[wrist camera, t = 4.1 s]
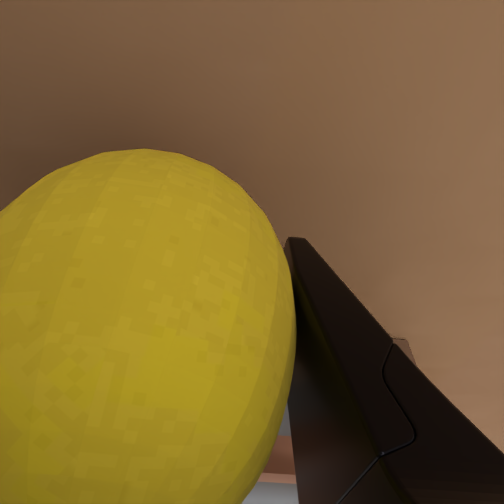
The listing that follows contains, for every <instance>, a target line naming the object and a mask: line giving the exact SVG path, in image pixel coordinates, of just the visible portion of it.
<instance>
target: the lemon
mask: <svg viewBox="0 0 504 504" xmlns="http://www.w3.org/2000/svg"><path fill="white" fill-rule="evenodd" d="M295 352H296V314H295V306H294V297H293V289H292V282H291V274H290V270H289V266H288V262H287V259H286V256H285V254H284V251H283V249H282V247H281V244H280V242H279V240H278V238H277V236H276V234H275V232H274V230H273V228H272V226H271V224H270V222H269V220H268V218H267V217H266V215H265V213H264V212H263V211H262V210H261V209H260V207H259V206H258V205H257V204H256V203H255V202H254V201H253V200H252V199H251V197H250V196H249V195H248V194H247V193H246V192H245V191H244V190H243V189H242V188H241V186H240V185H239V184H237V183H236V182H234V181H233V180H231V179H230V178H229V177H227V176H226V175H224V174H223V173H221V172H220V171H218V170H217V169H215V168H214V167H212V166H210V165H208V164H205V163H203V162H200V161H197V160H195V159H192V158H190V157H187V156H185V155H182V154H179V153H173V152H166V151H159V150H152V149H146V148H145V149H134V150H122V151H111V152H103V153H100V154H97V155H94V156H92V157H89V158H86V159H84V160H81V161H78V162H75V163H73V164H70V165H67V166H65V167H62V168H60V169H57V170H55V171H53V172H52V173H50V174H48V175H46V176H45V177H43V178H42V179H40V180H39V181H38V182H36V183H35V184H34V185H32V186H31V187H30V188H28V189H27V190H26V191H25V192H24V193H22V194H21V195H20V196H19V197H18V198H16V199H15V200H14V201H13V202H11V203H10V204H9V205H8V206H7V207H5V208H4V209H3V210H2V211H1V212H0V504H241V503H242V502H243V501H244V499H245V498H246V497H247V495H248V494H249V493H250V492H251V490H252V489H253V488H254V486H255V484H256V483H257V481H258V479H259V477H260V475H261V473H262V472H263V470H264V468H265V466H266V464H267V463H268V460H269V457H270V455H271V452H272V449H273V447H274V444H275V441H276V439H277V435H278V432H279V429H280V426H281V423H282V419H283V415H284V412H285V408H286V404H287V400H288V396H289V391H290V386H291V381H292V375H293V369H294V360H295Z"/></svg>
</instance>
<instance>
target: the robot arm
mask: <svg viewBox="0 0 504 504" xmlns="http://www.w3.org/2000/svg"><path fill="white" fill-rule="evenodd" d="M284 254H285V256H286V259H287V262H288V266H289V270H290V274H291V282H292V289H293V297H294V306H295V314H296V352H295V360H294V369H293V375H292V381H291V386H290V391H289V396H288V400H287V404H288V413H289V421H290V430H291V439H292V448H293V457H294V466H295V475H296V484H297V493H298V502H299V504H504V454H503V453H502V452H501V451H500V450H499V449H498V448H497V447H496V446H495V445H494V444H493V443H492V442H491V441H490V440H489V439H488V438H487V437H486V436H485V435H484V434H483V433H482V432H481V431H480V430H479V429H478V428H477V427H476V426H475V425H474V424H473V423H472V422H471V421H470V420H469V419H468V418H467V417H466V416H465V415H464V414H463V413H462V412H461V411H459V410H458V409H457V408H456V407H455V406H454V405H453V404H452V403H451V402H450V401H449V400H448V399H447V398H446V397H445V396H444V395H443V394H442V393H441V391H440V390H439V389H438V388H437V387H436V386H435V385H434V384H433V383H432V382H431V381H430V380H429V379H428V378H427V377H426V376H425V375H424V374H423V373H422V372H421V371H420V369H419V368H418V367H417V366H416V365H415V364H414V363H413V362H412V361H411V359H410V358H409V357H408V356H407V355H406V354H405V353H404V352H403V350H402V349H401V348H400V347H399V346H398V345H397V344H396V343H393V342H394V341H393V339H392V338H391V337H390V336H389V334H388V333H387V332H386V331H385V330H384V329H383V327H382V326H381V325H380V324H379V323H378V322H377V321H376V319H375V318H374V317H373V316H372V315H371V314H370V312H369V311H368V310H367V309H366V308H365V307H364V306H363V304H362V303H361V302H360V301H359V300H358V299H357V297H356V296H355V295H354V294H353V293H352V292H351V291H350V289H349V288H348V287H347V286H346V285H345V284H344V282H343V281H342V280H341V279H340V278H339V277H338V276H337V274H336V273H335V272H334V271H333V270H332V269H331V267H330V266H329V265H328V264H327V263H326V262H325V261H324V259H323V258H322V257H321V256H320V255H319V254H318V252H317V251H316V250H315V249H314V248H313V247H312V246H311V244H310V243H309V242H308V241H307V240H306V239H305V238H298V237H288V239H287V240H286V244H285V248H284Z"/></svg>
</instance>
